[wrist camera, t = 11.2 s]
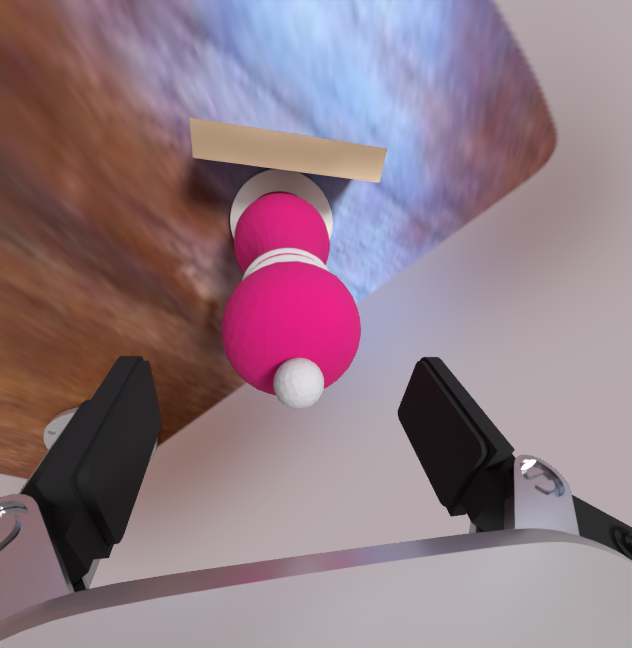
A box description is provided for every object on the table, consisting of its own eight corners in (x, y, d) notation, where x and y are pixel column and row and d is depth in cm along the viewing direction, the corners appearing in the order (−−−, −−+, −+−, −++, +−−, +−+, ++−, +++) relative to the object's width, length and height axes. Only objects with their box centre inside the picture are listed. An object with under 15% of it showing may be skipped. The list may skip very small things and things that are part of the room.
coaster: (323, 274, 30) (324, 276, 29) (232, 267, 28) (231, 270, 27) (339, 176, 25) (340, 177, 24) (229, 161, 23) (228, 162, 23)
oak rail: (357, 171, 25) (379, 182, 20) (209, 151, 23) (192, 157, 18) (362, 144, 24) (387, 148, 19) (207, 120, 22) (189, 117, 17)
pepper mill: (309, 273, 29) (364, 467, 12) (234, 258, 27) (179, 463, 10) (330, 196, 25) (448, 328, 9) (244, 173, 23) (186, 283, 7)
